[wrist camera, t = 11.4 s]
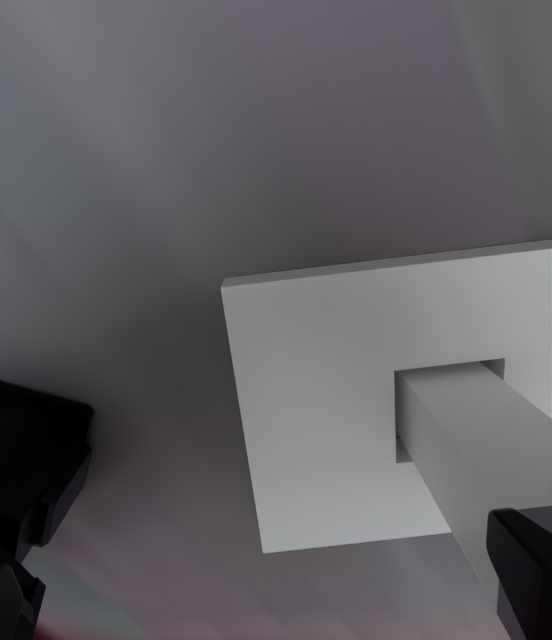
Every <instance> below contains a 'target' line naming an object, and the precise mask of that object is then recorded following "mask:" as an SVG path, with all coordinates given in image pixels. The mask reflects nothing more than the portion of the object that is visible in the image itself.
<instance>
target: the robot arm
mask: <svg viewBox="0 0 552 640" xmlns="http://www.w3.org/2000/svg"><path fill="white" fill-rule="evenodd" d="M79 413H83V414H84V415H85V416H86V417H82V416H81V415H80V414H79ZM93 415H94V412H93V410H92V408H91V407H90V406H88V405H85V404H81V403H78V402H74V401H70V400H66V399H63V398H59V397H55V396H51V395H47V394H44V393H40V392H36V391H32V390H29V389H25V388H21V387H17V386H14V385H10V384H6V383H2V382H0V640H32V638H33V634H34V630H35V627H36V623H37V619H38V615H39V611H40V608H41V604H42V600H43V596H44V592H45V589H46V586H45V585H44V584H43V582H42V581H41V580H40V579H39V578H38V577H36V578H34V577H33V576H32V575H31V574H30V573H29V572H28V571H27V570H26V569H25V568H24V567H23V565H22V564H21V563H22V561H23V560H24V558H25V557H26V555H27V554H28V552H29V551H30V549H31V548H32V546H37V547H43V546H45V545H46V544H48V543H49V541H50V540H51V538H52V536H53V535H54V533H55V532H56V530H57V528H58V527H59V525H60V523H61V522H62V520H63V518H64V517H65V515H66V514H67V512H68V510H69V509H70V507H71V505H72V504H73V502H74V500H75V499H76V497H77V496H78V494H79V492H80V491H81V489H82V487H83V486H84V483H85V479H86V474H87V470H88V466H89V461H90V457H91V453H92V448H91V446H90V445H89V444H87V442H88V438H89V433H90V429H91V424H92V420H93ZM486 549H487V553H488V556H489V558H490V561H491V563H492V565H493V567H494V569H495V572H496V574H497V576H498V578H499V581H500V583H501V585H502V587H503V589H504V592H505V594H506V596H507V598H508V601H509V603H510V605H511V607H512V609H513V612H514V614H515V616H516V618H517V621H518V623H519V625H520V627H521V629H522V632H523V634H524V636H525V638H526V640H552V532H550V531H549V530H547V529H546V528H544V527H542V526H541V525H539V524H538V523H536V522H535V521H533V520H532V519H530V518H528V517H527V516H525V515H524V514H522V513H521V512H519V511H517V510H516V509H513V508H500V509H492V510H490V511H489V513H488V518H487V532H486Z"/></svg>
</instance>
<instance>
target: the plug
mask: <svg viewBox="0 0 552 640" xmlns="http://www.w3.org/2000/svg"><path fill="white" fill-rule="evenodd" d="M394 387H395V428H396V431H397V433H398V435H399V437H400V439H401V441H402V442H403V444H404V446H405V448H406V450H407V451H408V453H409V455H410V457H411V459H412V460H413V462H414V464H415V466H416V468H417V470H418V471H419V473H420V475H421V477H422V479H423V480H424V482H425V484H426V486H427V488H428V490H429V491H430V493H431V495H432V497H433V499H434V500H435V502H436V504H437V506H438V508H439V509H440V511H441V513H442V515H443V517H444V519H445V520H446V522H447V524H448V526H449V528H450V529H451V531H452V533H453V535H454V537H455V538H456V540H457V542H458V544H459V546H460V548H461V549H462V551H463V553H464V555H465V557H466V558H467V560H468V562H469V564H470V566H471V567H472V569H473V571H474V573H475V575H476V577H477V578H478V580H479V582H480V584H481V586H482V587H483V589H484V591H485V593H486V595H487V596H488V598H489V600H490V602H491V604H492V606H493V607H494V609H495V611H496V613H497V615H498V616H499V618H500V620H501V622H502V624H503V625H504V627H505V629H506V631H507V633H508V635H509V636H510V638H511V640H526V638H525V636H524V634H523V632H522V629H521V627H520V625H519V623H518V621H517V618H516V616H515V614H514V612H513V609H512V607H511V605H510V603H509V601H508V598H507V596H506V594H505V592H504V589H503V587H502V585H501V583H500V581H499V578H498V576H497V574H496V572H495V569H494V567H493V565H492V563H491V561H490V558H489V556H488V553H487V549H486V532H487V518H488V513H489V511H490V510H492V509H500V508H513V509H516V510H517V511H519V512H521V513H522V514H524V515H525V516H527V517H528V518H530V519H532V520H533V521H535V522H536V523H538V524H539V525H541V526H542V527H544V528H546V529H547V530H549V531H550V532H552V419H551V418H550V417H549V416H547V415H546V414H545V413H544V412H542V411H541V410H540V409H538V408H537V407H536V406H535V405H533V404H532V403H531V402H530V401H528V400H527V399H526V398H525V397H523V396H522V395H521V394H520V393H518V392H517V391H516V390H514V389H513V388H512V387H511V386H509V385H508V384H507V383H506V382H504V381H503V380H502V379H501V378H499V377H498V376H497V375H496V374H494V373H493V372H492V371H491V370H489V369H488V368H487V367H485V366H484V365H483V364H482V363H480V362H479V361H475V362H466V363H458V364H449V365H440V366H432V367H423V368H414V369H406V370H397V371H394Z"/></svg>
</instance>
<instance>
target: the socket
mask: <svg viewBox="0 0 552 640" xmlns="http://www.w3.org/2000/svg"><path fill="white" fill-rule="evenodd" d="M220 288H221V294H222V301H223V307H224V313H225V319H226V325H227V332H228V338H229V344H230V350H231V356H232V363H233V369H234V375H235V381H236V388H237V394H238V400H239V406H240V412H241V419H242V425H243V431H244V437H245V443H246V450H247V456H248V462H249V468H250V475H251V481H252V487H253V493H254V499H255V506H256V512H257V518H258V524H259V530H260V537H261V543H262V549H263V553H272V552H281V551H290V550H298V549H307V548H316V547H325V546H334V545H343V544H352V543H361V542H370V541H378V540H387V539H396V538H405V537H414V536H423V535H432V534H441V533H450V532H452V531H451V529H450V528H449V526H448V524H447V522H446V520H445V519H444V517H443V515H442V513H441V511H440V509H439V508H438V506H437V504H436V502H435V500H434V499H433V497H432V495H431V493H430V491H429V490H428V488H427V486H426V484H425V482H424V480H423V479H422V477H421V475H420V473H419V471H418V470H417V468H416V466H415V464H414V462H413V460H412V459H411V457H410V455H409V453H408V451H407V450H406V448H405V446H404V444H403V442H402V441H401V439H400V438H398V439H396V432H395V387H394V371H397V370H406V369H414V368H423V367H432V366H440V365H449V364H458V363H466V362H475V361H482V364H483V365H484V366H485V367H487V368H488V369H489V370H491V371H492V372H493V373H494V374H496V375H497V376H498V377H499V378H501V379H502V380H503V381H504V382H506V383H507V384H508V385H509V386H511V387H512V388H513V389H514V390H516V391H517V392H518V393H520V394H521V395H522V396H523V397H525V398H526V399H527V400H528V401H530V402H531V403H532V404H533V405H535V406H536V407H537V408H538V409H540V410H541V411H542V412H544V413H545V414H546V415H547V416H549V417H550V418H551V419H552V239H551V240H542V241H534V242H525V243H517V244H508V245H500V246H491V247H483V248H474V249H466V250H457V251H449V252H440V253H432V254H423V255H415V256H406V257H398V258H389V259H381V260H372V261H364V262H355V263H347V264H338V265H330V266H322V267H313V268H305V269H296V270H288V271H279V272H271V273H262V274H254V275H245V276H237V277H228V278H224V281H223V283H222V285H221V287H220Z"/></svg>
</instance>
